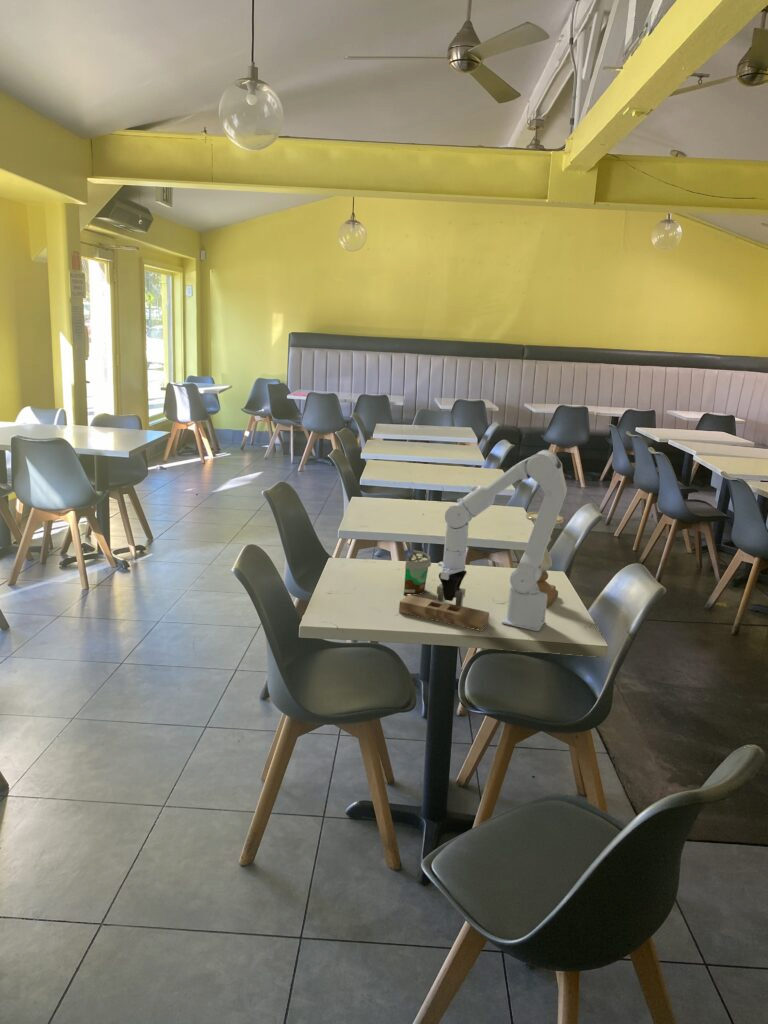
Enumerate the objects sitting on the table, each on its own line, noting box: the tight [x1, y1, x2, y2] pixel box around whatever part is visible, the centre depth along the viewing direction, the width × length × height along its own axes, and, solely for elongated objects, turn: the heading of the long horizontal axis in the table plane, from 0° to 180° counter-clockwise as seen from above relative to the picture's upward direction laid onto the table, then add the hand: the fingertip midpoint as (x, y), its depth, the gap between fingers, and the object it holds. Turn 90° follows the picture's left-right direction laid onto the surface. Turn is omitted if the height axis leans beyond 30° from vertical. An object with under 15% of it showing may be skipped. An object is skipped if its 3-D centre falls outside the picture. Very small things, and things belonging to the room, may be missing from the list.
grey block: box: [436, 583, 466, 606], centre depth 192 cm, size 7×2×6 cm, turn 66°
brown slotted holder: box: [398, 595, 490, 631], centre depth 184 cm, size 22×6×3 cm, turn 66°
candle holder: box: [525, 511, 564, 608], centre depth 202 cm, size 11×11×24 cm
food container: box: [403, 549, 432, 595], centre depth 202 cm, size 12×6×10 cm, turn 168°
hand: (450, 598), depth 192 cm, fingers closed on grey block, 2 cm apart
